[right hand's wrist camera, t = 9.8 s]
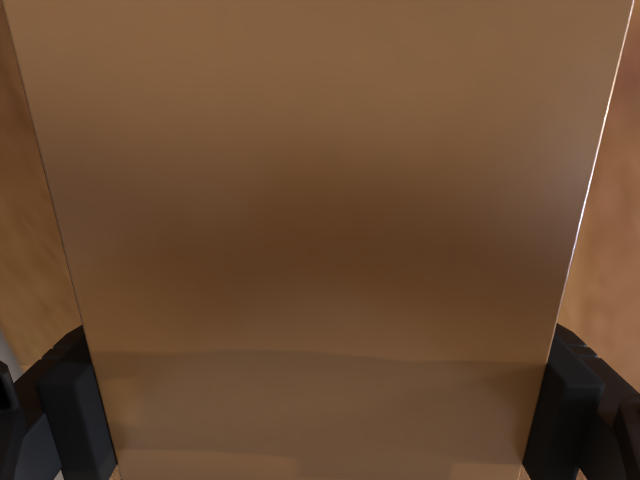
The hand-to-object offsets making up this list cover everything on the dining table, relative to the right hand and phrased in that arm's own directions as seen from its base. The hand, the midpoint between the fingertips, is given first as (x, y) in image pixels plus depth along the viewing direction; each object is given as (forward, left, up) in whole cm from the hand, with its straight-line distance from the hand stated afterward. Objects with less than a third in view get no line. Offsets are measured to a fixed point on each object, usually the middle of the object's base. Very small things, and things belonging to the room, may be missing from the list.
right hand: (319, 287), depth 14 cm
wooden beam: (+2, -20, -1) cm, 20 cm away
